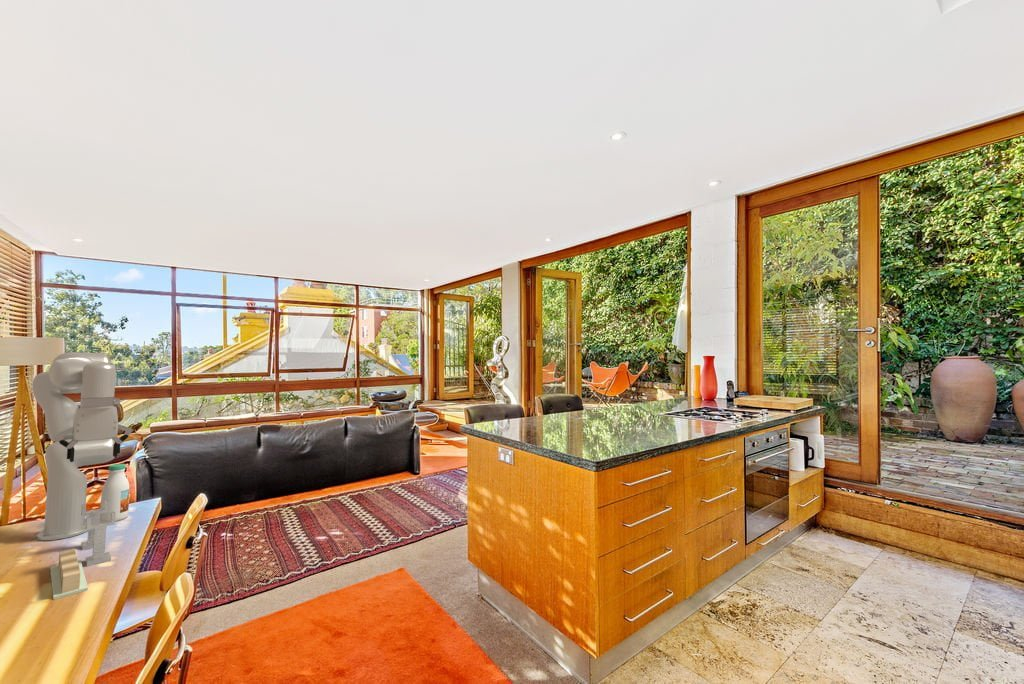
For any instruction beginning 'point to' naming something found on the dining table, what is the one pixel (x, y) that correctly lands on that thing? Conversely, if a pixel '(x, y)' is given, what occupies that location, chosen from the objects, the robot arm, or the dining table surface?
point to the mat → (57, 583)
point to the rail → (69, 570)
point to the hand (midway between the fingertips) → (93, 458)
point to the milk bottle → (116, 493)
